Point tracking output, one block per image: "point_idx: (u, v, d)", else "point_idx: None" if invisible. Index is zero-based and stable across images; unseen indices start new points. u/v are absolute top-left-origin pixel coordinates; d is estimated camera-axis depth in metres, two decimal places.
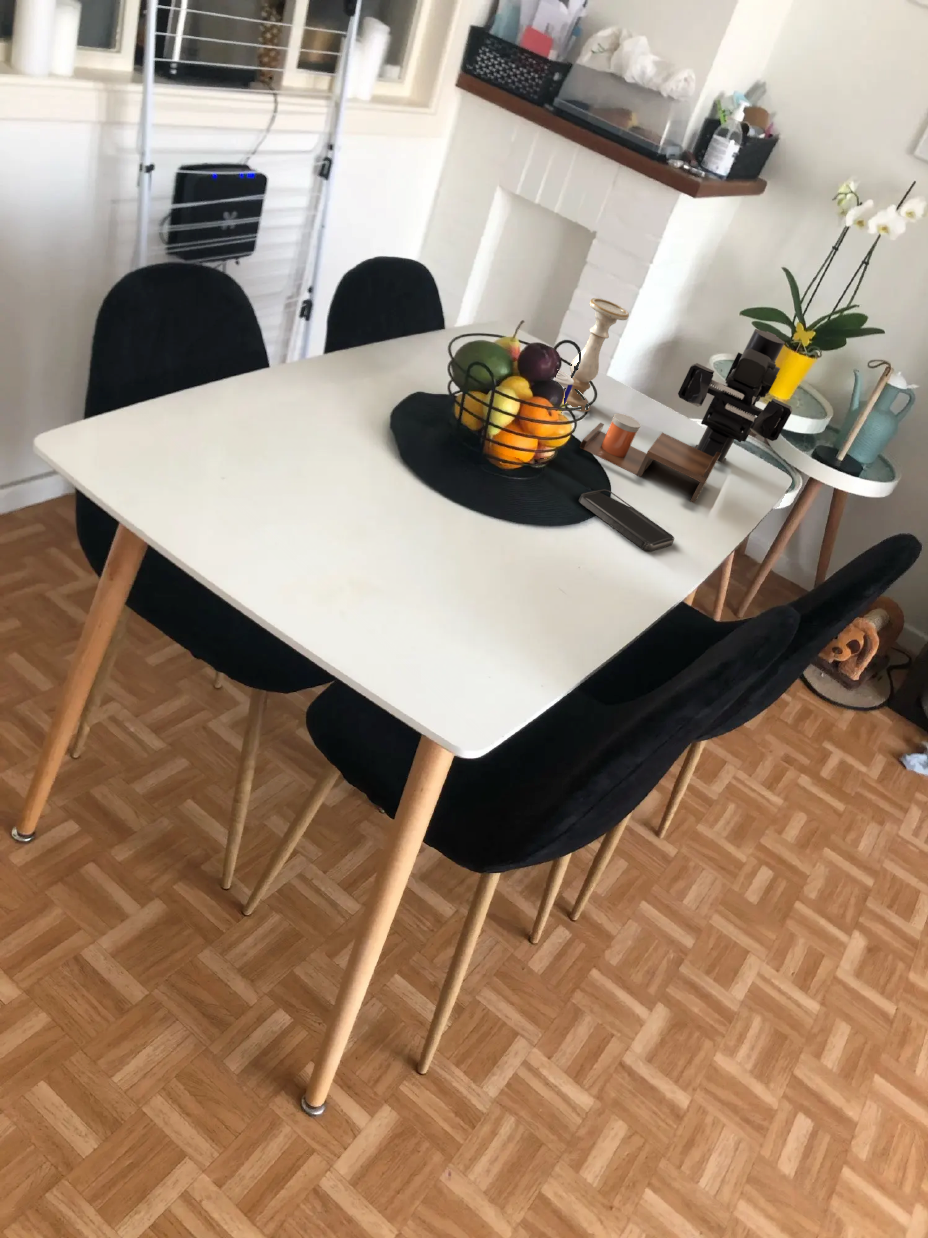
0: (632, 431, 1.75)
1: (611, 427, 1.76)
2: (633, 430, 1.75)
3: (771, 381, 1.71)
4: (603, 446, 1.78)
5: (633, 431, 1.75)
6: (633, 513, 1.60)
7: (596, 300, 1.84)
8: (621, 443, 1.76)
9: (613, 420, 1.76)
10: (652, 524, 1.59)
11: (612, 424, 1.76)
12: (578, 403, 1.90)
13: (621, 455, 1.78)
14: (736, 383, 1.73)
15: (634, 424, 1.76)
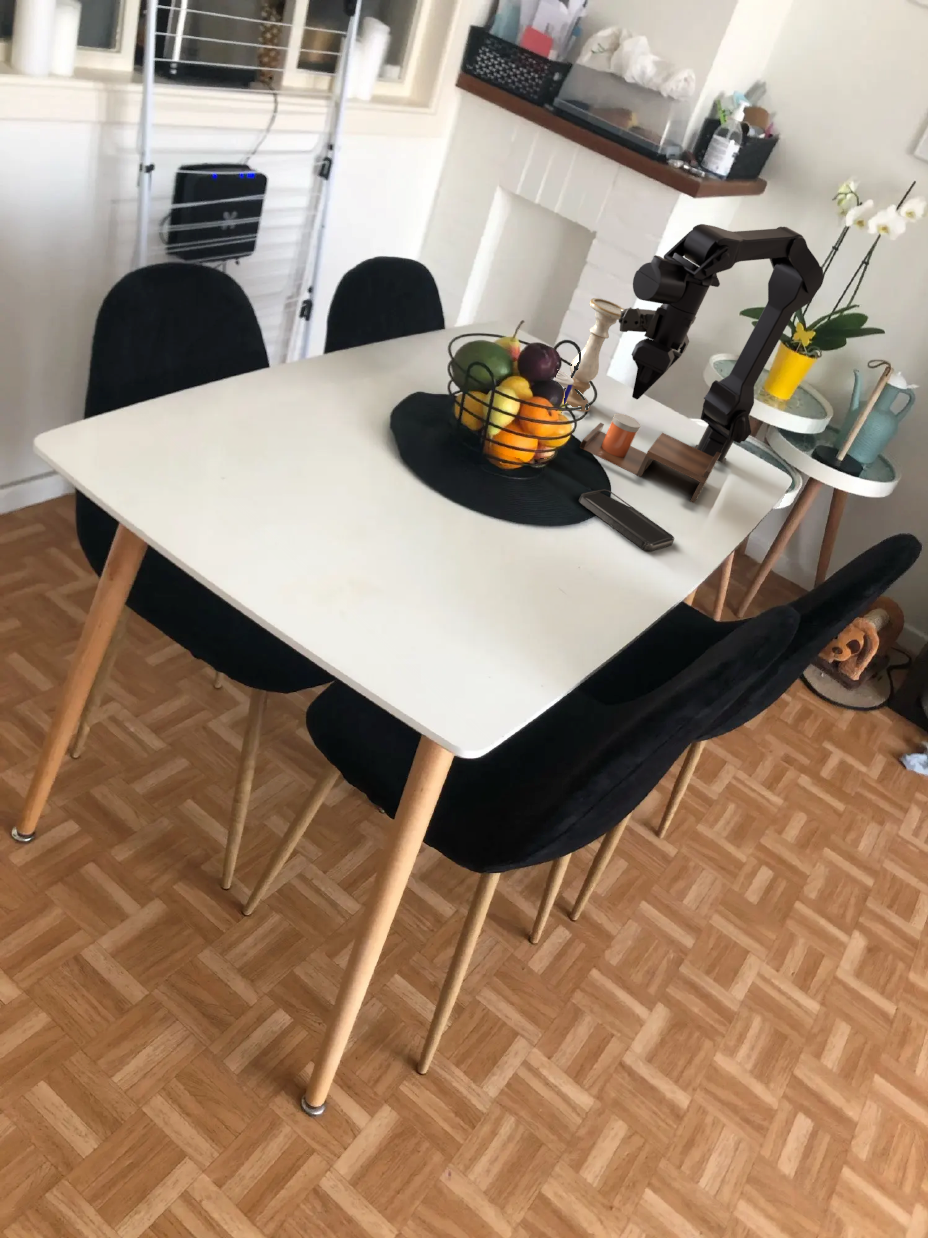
0: (632, 431, 1.75)
1: (611, 427, 1.76)
2: (633, 430, 1.75)
3: (632, 328, 1.66)
4: (603, 446, 1.78)
5: (633, 431, 1.75)
6: (633, 513, 1.60)
7: (596, 300, 1.84)
8: (621, 443, 1.76)
9: (613, 420, 1.76)
10: (652, 524, 1.59)
11: (612, 424, 1.76)
12: (578, 403, 1.90)
13: (621, 455, 1.78)
14: None
15: (634, 424, 1.76)
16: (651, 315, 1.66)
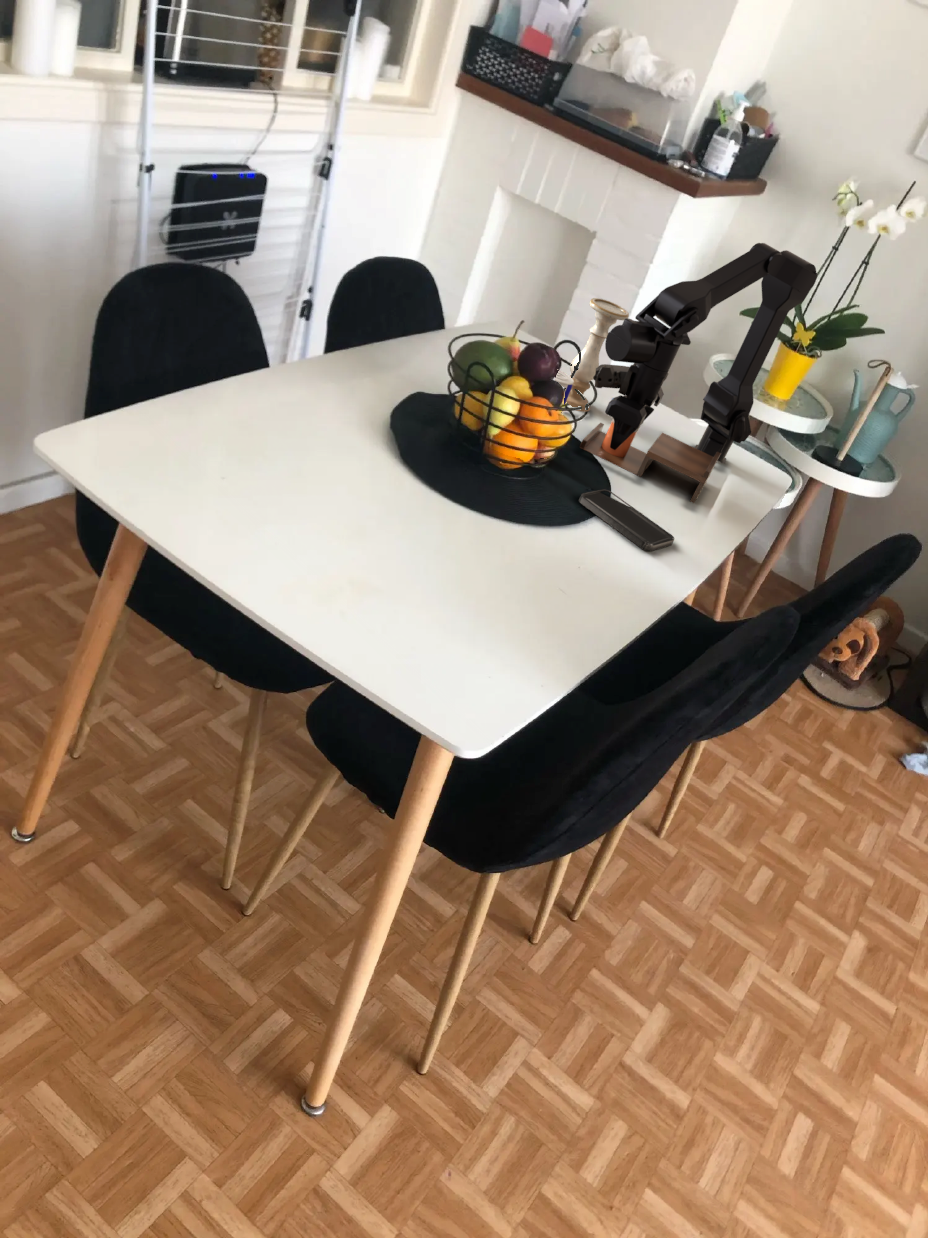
0: None
1: (611, 427, 1.76)
2: None
3: (606, 385, 1.71)
4: (603, 446, 1.78)
5: None
6: (633, 513, 1.60)
7: (596, 300, 1.84)
8: None
9: (613, 420, 1.76)
10: (652, 524, 1.59)
11: (612, 424, 1.76)
12: (578, 403, 1.90)
13: (621, 455, 1.78)
14: None
15: None
16: (624, 372, 1.71)
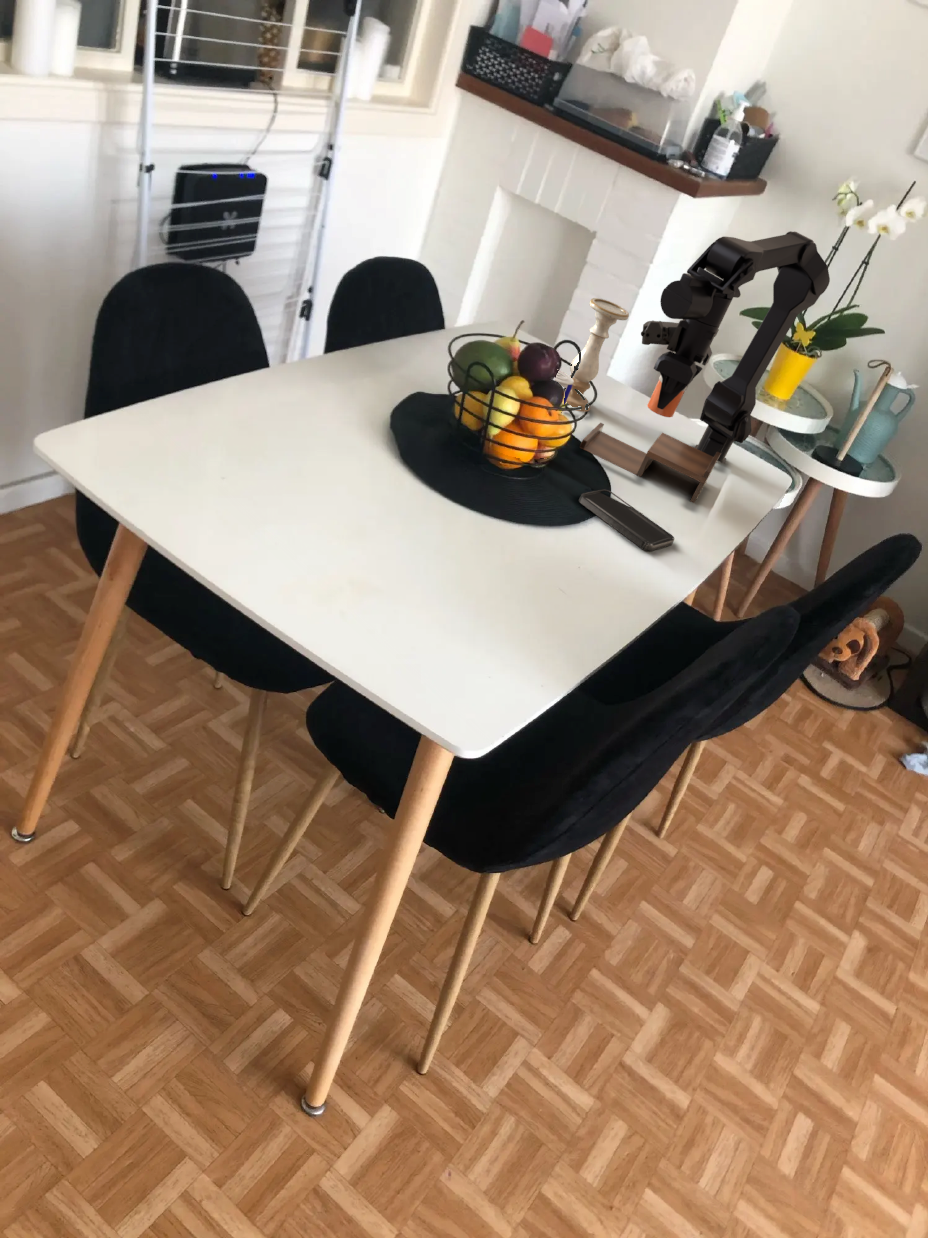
0: None
1: (658, 386, 1.71)
2: None
3: (654, 341, 1.65)
4: (649, 406, 1.72)
5: None
6: (633, 513, 1.60)
7: (596, 300, 1.84)
8: None
9: (660, 378, 1.70)
10: (652, 524, 1.59)
11: (659, 383, 1.70)
12: (578, 403, 1.90)
13: (668, 415, 1.72)
14: None
15: None
16: (673, 328, 1.65)
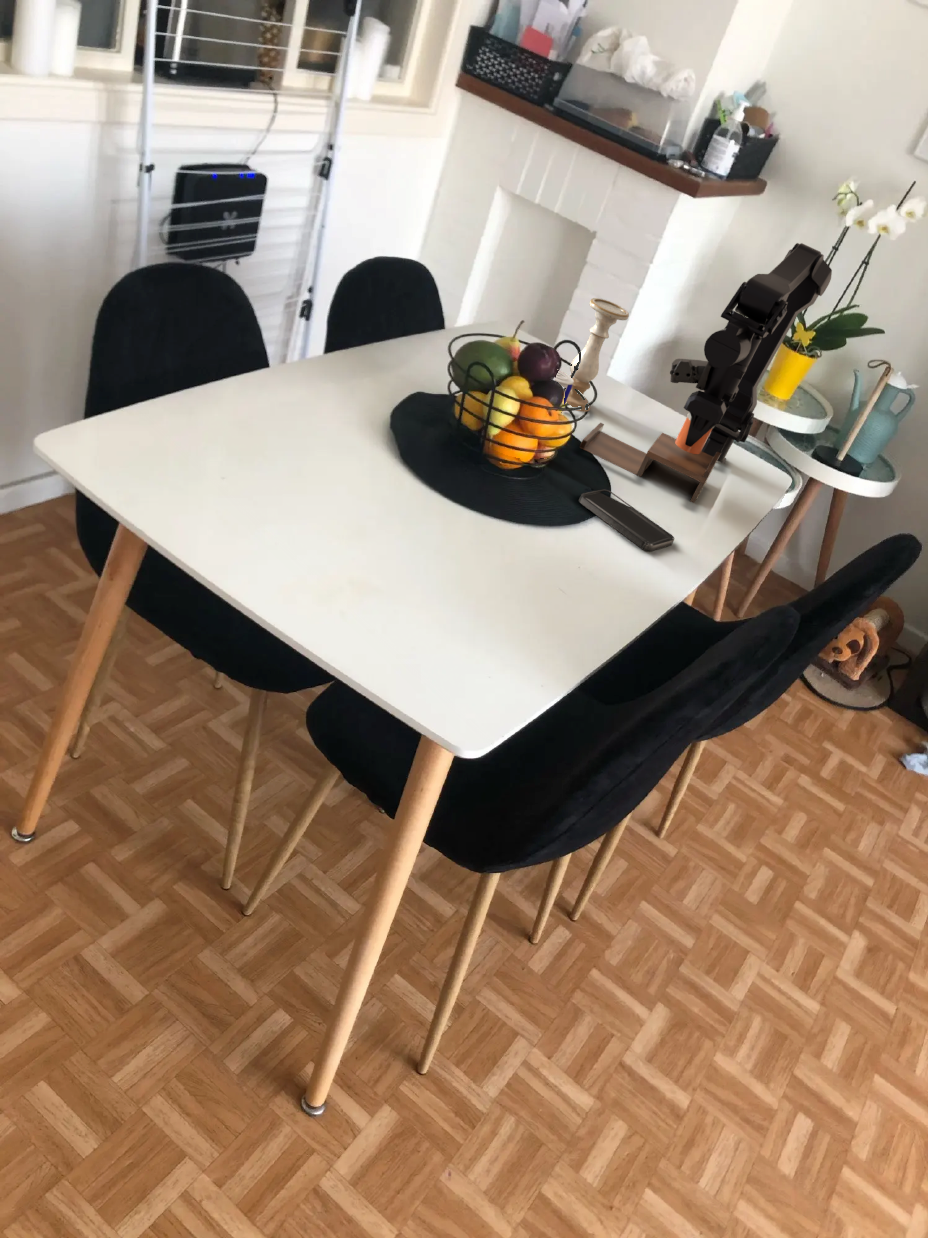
0: None
1: (686, 424, 1.71)
2: None
3: None
4: (677, 443, 1.73)
5: None
6: (633, 513, 1.60)
7: (596, 300, 1.84)
8: None
9: (689, 416, 1.71)
10: (652, 524, 1.59)
11: (687, 420, 1.71)
12: (578, 403, 1.90)
13: (696, 452, 1.73)
14: None
15: None
16: (702, 367, 1.66)
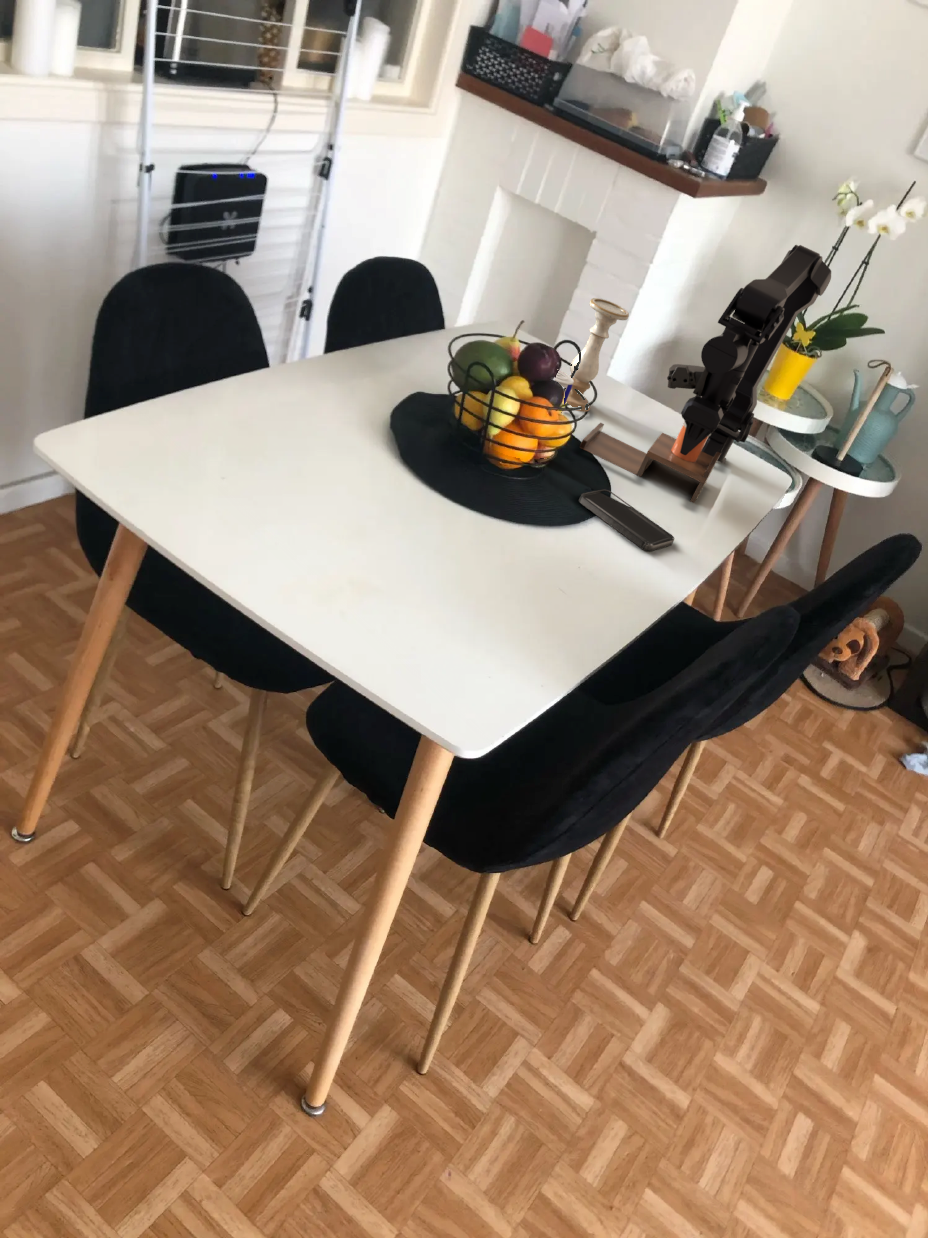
0: None
1: (682, 431, 1.72)
2: None
3: (681, 386, 1.66)
4: (673, 451, 1.74)
5: None
6: (633, 513, 1.60)
7: (596, 300, 1.84)
8: None
9: (685, 424, 1.72)
10: (652, 524, 1.59)
11: (684, 428, 1.72)
12: (578, 403, 1.90)
13: (692, 460, 1.73)
14: None
15: None
16: (700, 373, 1.66)
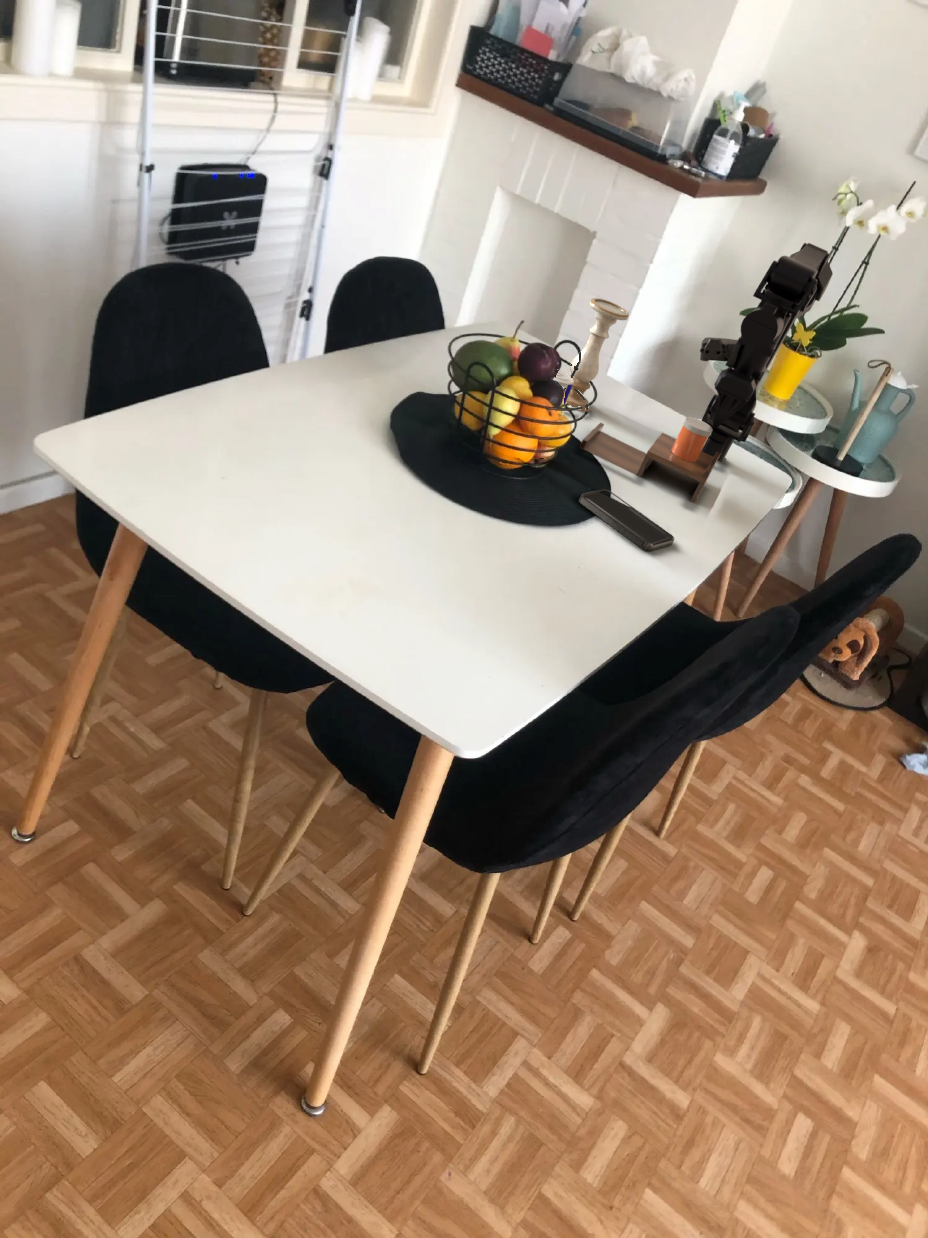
0: (704, 435, 1.71)
1: (682, 431, 1.72)
2: (705, 434, 1.71)
3: (714, 358, 1.69)
4: (673, 451, 1.74)
5: (705, 435, 1.71)
6: (633, 513, 1.60)
7: (596, 300, 1.84)
8: (693, 447, 1.72)
9: (685, 424, 1.72)
10: (652, 524, 1.59)
11: (684, 428, 1.72)
12: (578, 403, 1.90)
13: (692, 460, 1.73)
14: None
15: (706, 428, 1.71)
16: (732, 345, 1.68)
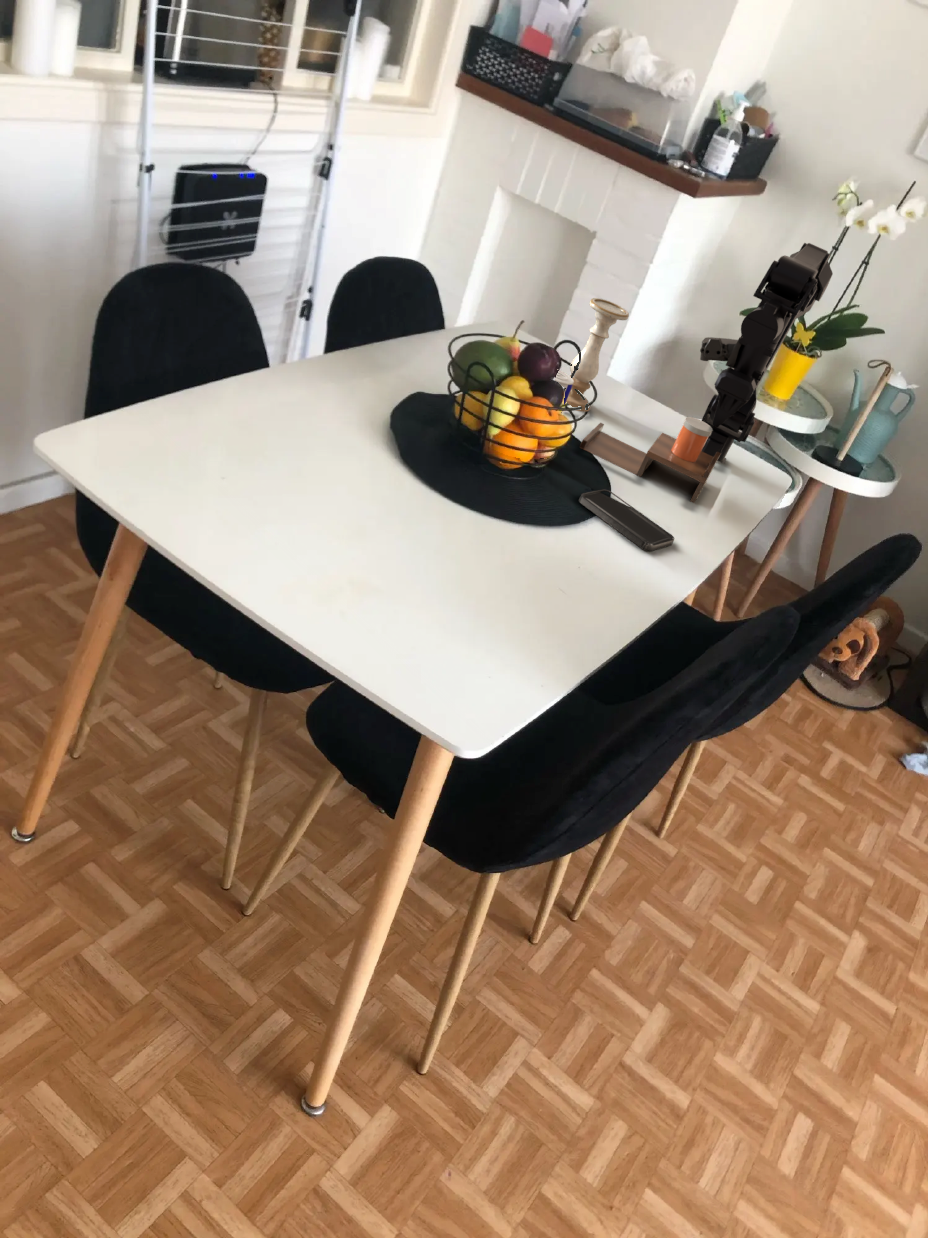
0: (704, 435, 1.71)
1: (682, 431, 1.72)
2: (705, 434, 1.71)
3: (714, 358, 1.69)
4: (673, 451, 1.74)
5: (705, 435, 1.71)
6: (633, 513, 1.60)
7: (596, 300, 1.84)
8: (693, 447, 1.72)
9: (685, 424, 1.72)
10: (652, 524, 1.59)
11: (684, 428, 1.72)
12: (578, 403, 1.90)
13: (692, 460, 1.73)
14: None
15: (706, 428, 1.71)
16: (732, 345, 1.68)
